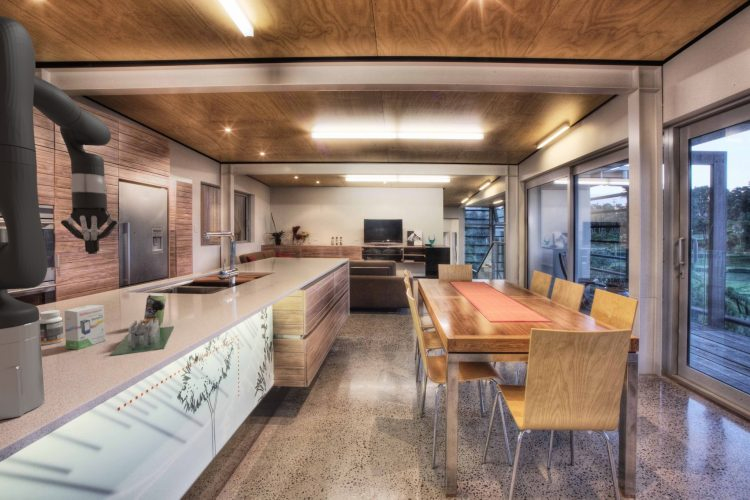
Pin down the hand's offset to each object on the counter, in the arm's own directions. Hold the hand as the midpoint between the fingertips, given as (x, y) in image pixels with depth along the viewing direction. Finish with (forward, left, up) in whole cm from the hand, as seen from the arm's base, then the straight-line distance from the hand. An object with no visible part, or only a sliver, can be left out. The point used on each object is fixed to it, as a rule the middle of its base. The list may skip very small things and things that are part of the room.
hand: (92, 253), depth 95 cm
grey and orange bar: (+9, -10, -25) cm, 28 cm away
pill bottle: (+20, +17, -29) cm, 39 cm away
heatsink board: (+10, -10, -29) cm, 32 cm away
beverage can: (+28, -10, -29) cm, 42 cm away
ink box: (+12, +6, -29) cm, 32 cm away
